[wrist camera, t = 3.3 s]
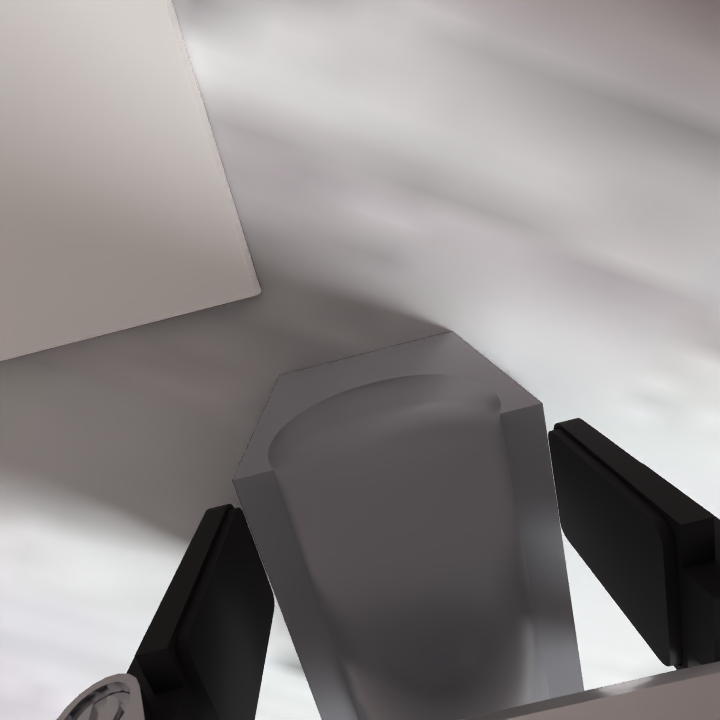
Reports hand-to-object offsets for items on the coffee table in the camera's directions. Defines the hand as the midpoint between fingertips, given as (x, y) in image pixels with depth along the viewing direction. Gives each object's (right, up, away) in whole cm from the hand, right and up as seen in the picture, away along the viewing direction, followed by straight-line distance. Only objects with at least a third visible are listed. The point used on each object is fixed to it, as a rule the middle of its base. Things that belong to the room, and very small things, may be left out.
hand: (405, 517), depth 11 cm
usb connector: (0, -1, +2) cm, 2 cm away
